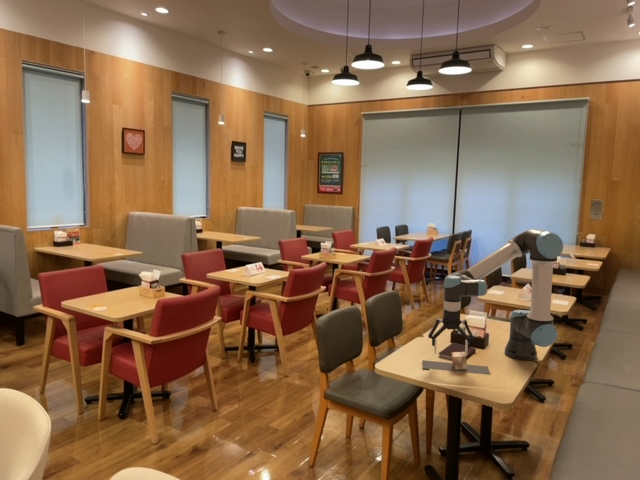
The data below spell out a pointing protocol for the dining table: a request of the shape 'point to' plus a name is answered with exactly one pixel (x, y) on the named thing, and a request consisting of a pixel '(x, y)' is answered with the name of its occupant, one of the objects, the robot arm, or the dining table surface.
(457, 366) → the block
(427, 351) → the dining table surface
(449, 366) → the mat
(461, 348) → the book
